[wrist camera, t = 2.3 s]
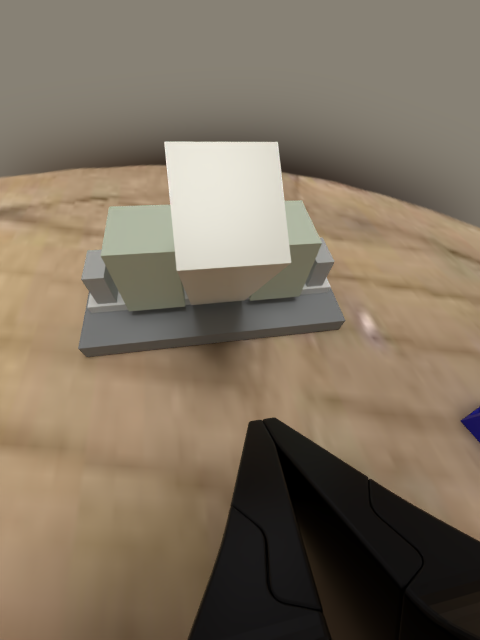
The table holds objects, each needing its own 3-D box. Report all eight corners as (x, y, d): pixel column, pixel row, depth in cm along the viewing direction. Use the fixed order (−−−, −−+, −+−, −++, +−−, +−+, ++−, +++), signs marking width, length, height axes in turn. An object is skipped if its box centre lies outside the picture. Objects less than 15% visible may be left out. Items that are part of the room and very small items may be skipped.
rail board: (338, 329, 24) (387, 265, 17) (86, 356, 21) (21, 292, 14) (309, 260, 29) (338, 188, 22) (100, 274, 26) (56, 196, 19)
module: (244, 300, 22) (291, 262, 10) (191, 305, 22) (176, 270, 10) (238, 239, 22) (276, 135, 11) (185, 242, 22) (163, 134, 10)
